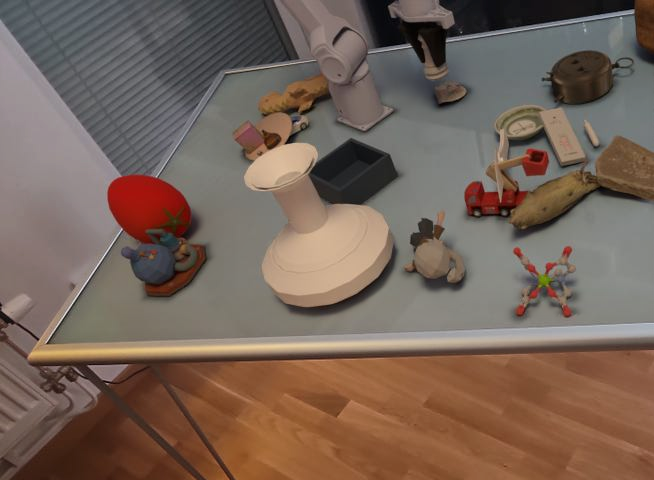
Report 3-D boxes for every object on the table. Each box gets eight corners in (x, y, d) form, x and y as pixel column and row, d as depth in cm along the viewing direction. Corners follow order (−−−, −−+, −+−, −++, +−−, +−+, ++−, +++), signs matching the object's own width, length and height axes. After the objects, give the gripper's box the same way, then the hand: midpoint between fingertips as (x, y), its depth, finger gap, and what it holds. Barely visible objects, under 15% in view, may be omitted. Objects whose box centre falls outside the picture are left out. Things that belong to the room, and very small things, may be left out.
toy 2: (421, 188, 91) (441, 229, 79) (467, 213, 95) (492, 255, 83) (387, 247, 95) (401, 294, 83) (432, 269, 99) (451, 316, 87)
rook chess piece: (446, 79, 110) (434, 34, 104) (423, 82, 111) (409, 38, 105) (451, 67, 113) (440, 22, 107) (429, 70, 114) (416, 25, 108)
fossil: (433, 106, 118) (464, 113, 120) (436, 86, 116) (468, 93, 117) (433, 92, 124) (462, 98, 126) (436, 73, 122) (466, 80, 123)
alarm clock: (556, 113, 109) (644, 87, 109) (554, 84, 105) (645, 57, 105) (540, 85, 116) (622, 61, 116) (537, 57, 112) (622, 32, 112)
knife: (497, 121, 103) (503, 119, 102) (506, 147, 105) (511, 145, 105) (486, 173, 82) (494, 171, 81) (497, 203, 84) (504, 201, 84)
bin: (312, 193, 110) (302, 172, 107) (360, 158, 114) (350, 137, 111) (349, 213, 104) (339, 191, 101) (398, 176, 108) (389, 153, 104)
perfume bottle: (251, 171, 121) (235, 156, 118) (238, 138, 128) (222, 123, 124) (298, 134, 120) (283, 118, 116) (283, 103, 126) (268, 86, 122)
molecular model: (523, 278, 85) (513, 237, 80) (580, 278, 83) (574, 236, 77) (513, 316, 81) (502, 276, 76) (573, 318, 79) (566, 276, 73)
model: (179, 297, 100) (143, 254, 93) (136, 295, 102) (97, 254, 95) (215, 246, 106) (184, 203, 99) (173, 246, 109) (140, 204, 102)
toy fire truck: (471, 203, 98) (456, 150, 91) (555, 202, 94) (547, 147, 86) (466, 217, 96) (450, 164, 89) (551, 216, 92) (542, 161, 84)
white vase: (274, 336, 89) (199, 234, 74) (280, 249, 102) (217, 148, 87) (405, 298, 88) (356, 187, 73) (395, 215, 101) (350, 107, 86)
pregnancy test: (561, 167, 98) (561, 161, 97) (538, 116, 104) (539, 110, 103) (605, 157, 99) (606, 152, 98) (580, 108, 105) (581, 102, 104)
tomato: (172, 186, 116) (219, 216, 111) (138, 235, 116) (183, 268, 110) (116, 148, 104) (164, 180, 99) (78, 204, 104) (125, 238, 99)
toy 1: (261, 118, 137) (340, 78, 140) (272, 130, 128) (356, 87, 131) (248, 94, 133) (329, 54, 137) (258, 105, 124) (345, 62, 128)
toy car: (254, 147, 126) (248, 136, 124) (305, 120, 129) (299, 108, 127) (261, 154, 124) (254, 142, 122) (311, 125, 126) (306, 113, 124)
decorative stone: (710, 170, 90) (618, 166, 99) (706, 131, 85) (609, 131, 94) (683, 214, 86) (589, 206, 95) (677, 176, 81) (579, 172, 90)
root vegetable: (520, 232, 84) (508, 247, 89) (620, 176, 92) (604, 192, 97) (499, 201, 85) (488, 218, 89) (601, 148, 92) (586, 165, 97)
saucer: (529, 110, 111) (527, 97, 110) (561, 129, 106) (560, 116, 104) (485, 135, 110) (483, 122, 108) (516, 155, 104) (514, 142, 102)
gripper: (458, -27, 97) (477, 58, 107) (400, -35, 105) (423, 45, 115) (427, -7, 95) (449, 78, 105) (370, -16, 103) (396, 63, 113)
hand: (433, 62), depth 110 cm, fingers closed on rook chess piece, 3 cm apart
